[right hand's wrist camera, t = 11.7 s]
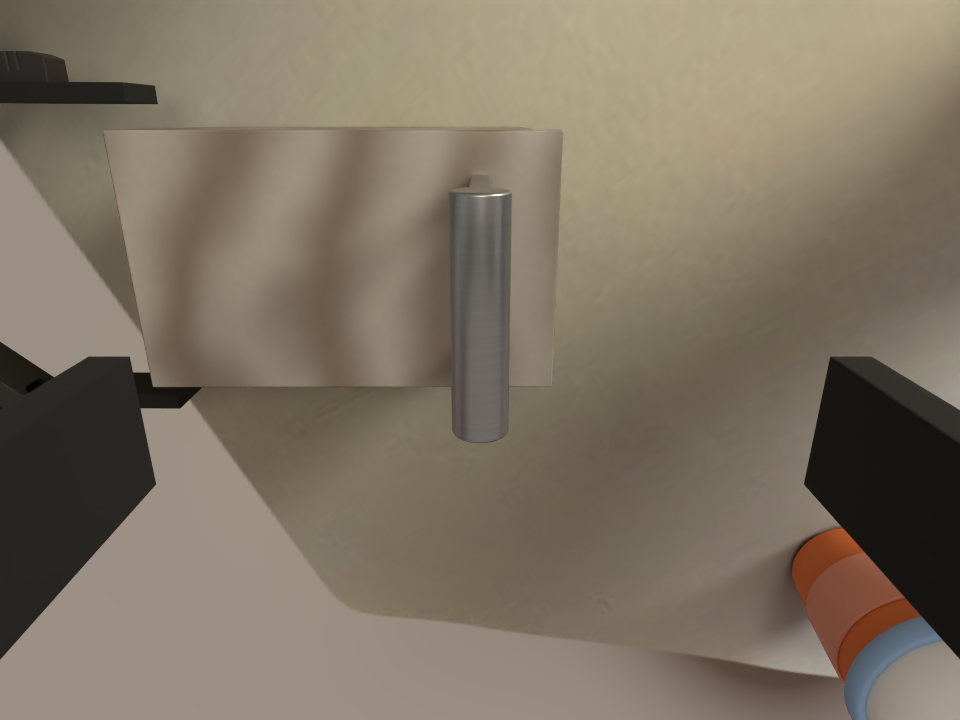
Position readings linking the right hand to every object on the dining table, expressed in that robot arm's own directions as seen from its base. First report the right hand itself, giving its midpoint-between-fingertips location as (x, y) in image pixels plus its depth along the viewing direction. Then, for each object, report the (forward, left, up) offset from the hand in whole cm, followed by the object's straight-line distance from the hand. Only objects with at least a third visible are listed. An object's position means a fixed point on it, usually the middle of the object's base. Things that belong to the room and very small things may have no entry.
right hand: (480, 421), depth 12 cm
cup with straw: (+21, +26, -25) cm, 42 cm away
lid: (0, -5, -14) cm, 15 cm away
